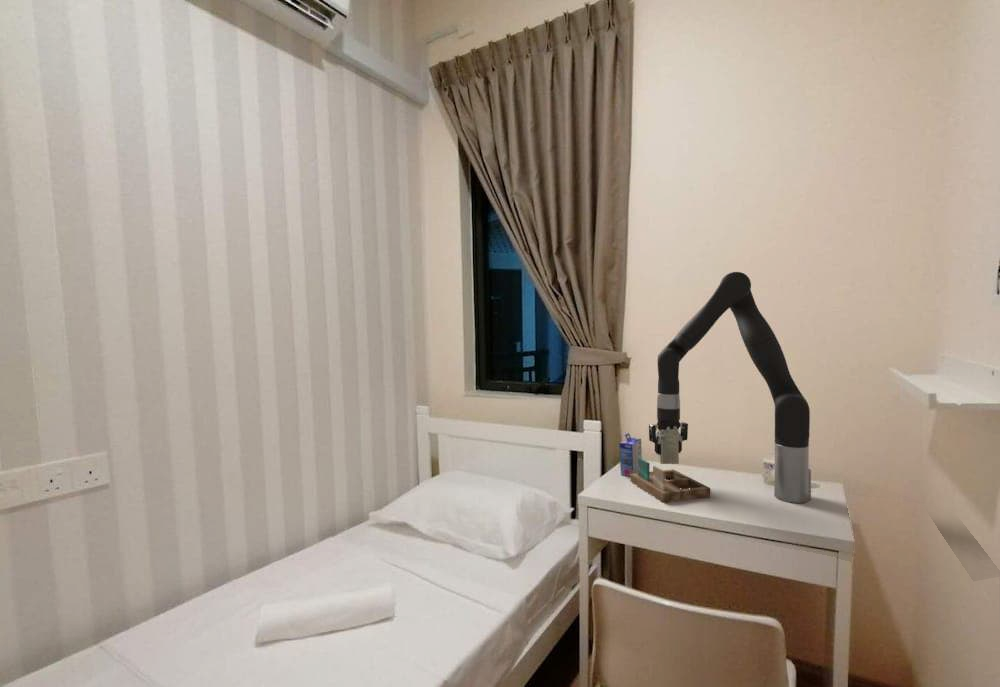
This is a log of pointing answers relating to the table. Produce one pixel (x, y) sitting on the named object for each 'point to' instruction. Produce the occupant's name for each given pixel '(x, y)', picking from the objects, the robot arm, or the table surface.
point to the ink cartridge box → (630, 455)
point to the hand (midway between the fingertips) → (668, 453)
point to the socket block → (667, 484)
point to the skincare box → (669, 447)
